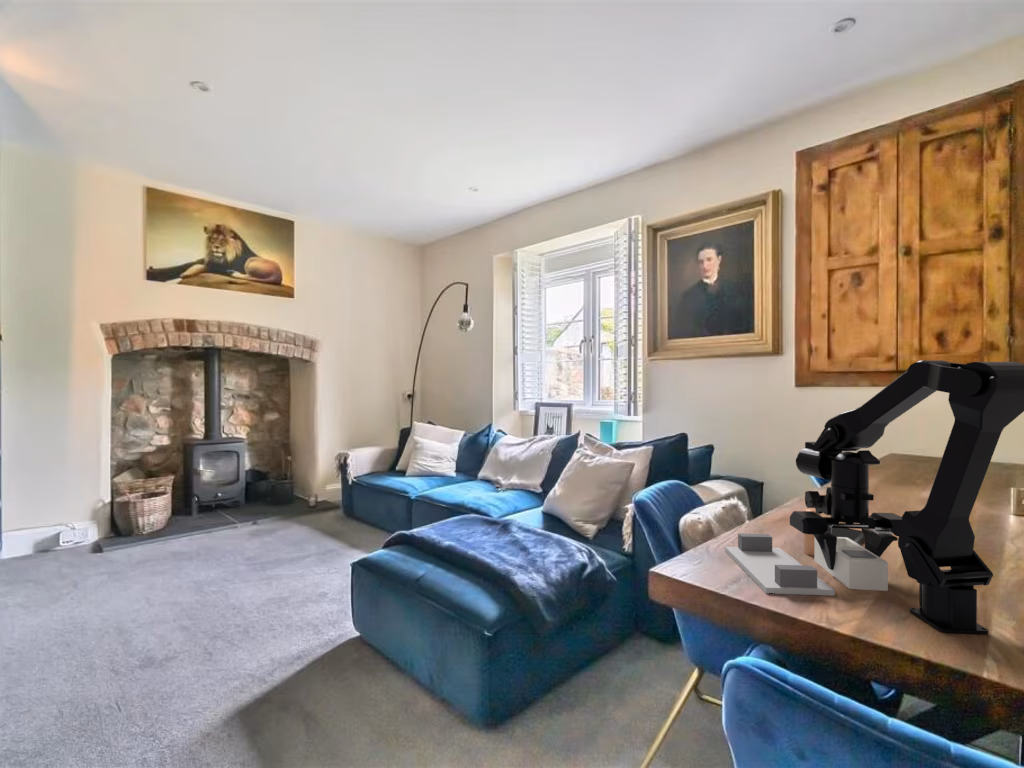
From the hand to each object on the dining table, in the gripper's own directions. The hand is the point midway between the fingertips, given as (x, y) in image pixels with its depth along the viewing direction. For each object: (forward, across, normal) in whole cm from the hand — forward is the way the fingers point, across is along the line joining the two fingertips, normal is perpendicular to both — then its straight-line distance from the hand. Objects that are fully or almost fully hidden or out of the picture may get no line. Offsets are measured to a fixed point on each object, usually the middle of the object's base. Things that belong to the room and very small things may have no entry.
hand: (849, 569), depth 89 cm
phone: (+2, -10, -21) cm, 23 cm away
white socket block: (+1, 0, 0) cm, 1 cm away
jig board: (+1, +13, -1) cm, 13 cm away
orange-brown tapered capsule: (+1, +1, -11) cm, 11 cm away
